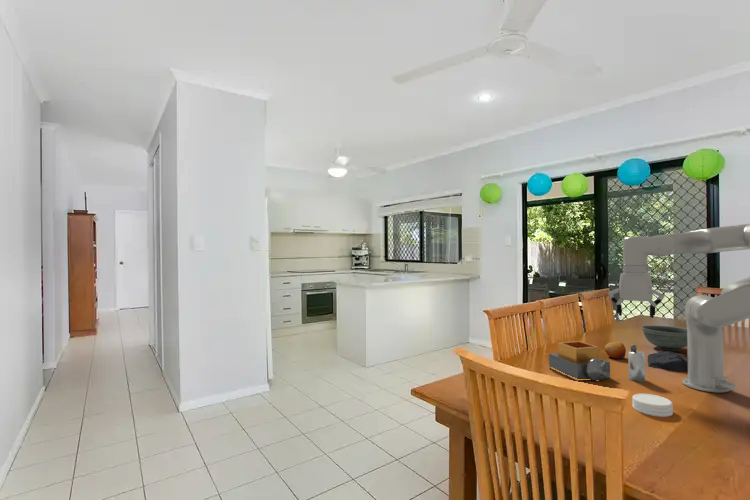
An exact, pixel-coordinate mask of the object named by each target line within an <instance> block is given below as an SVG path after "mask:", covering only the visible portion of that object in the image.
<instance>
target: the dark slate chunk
mask: <svg viewBox="0 0 750 500" xmlns="http://www.w3.org/2000/svg"><path fill="white" fill-rule="evenodd" d="M647 366H648V367H650V368H653V369H658V370H666V371H673V372H681V373H682V372H683V373H688V358H686V357H685V356H684V355H683V354H681V353H677V352H674V351H668V350H665V351H661V352H653V353H650V354H648V355H647Z"/></svg>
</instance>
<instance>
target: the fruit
mask: <svg viewBox="0 0 750 500" xmlns="http://www.w3.org/2000/svg"><path fill="white" fill-rule="evenodd" d="M604 352H605V353H606V355H607V357H609V356H610V357H609V358H613V359H615V360H620V359H625V357H626V346H625V345H624V344H623V343H622V342H620V341H612V342H608V343H606V344H605V346H604Z"/></svg>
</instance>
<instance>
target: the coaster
mask: <svg viewBox="0 0 750 500" xmlns="http://www.w3.org/2000/svg"><path fill="white" fill-rule="evenodd" d="M631 397H632V401H631V402H632V408H633V409H634V410H635V411H637V412H638V413H641V414H644V415H648V416H652V417H659V418H668V417H671V416H673V414H674V411H673V410H674V407H673V406H674V404H673V401H671V400H670V399H668V398H666V397H663V396H661V395H656V394H651V393H635V394H634V395H632V396H631Z"/></svg>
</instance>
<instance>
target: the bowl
mask: <svg viewBox="0 0 750 500" xmlns="http://www.w3.org/2000/svg"><path fill="white" fill-rule="evenodd" d="M641 329H642V332H643V335H644V337H645V338H646V340H647V342H649V343H651V344H652V345H654V346H656V349H658V350H661V351H662V350H663V351H671V352H679V351H681V350H682V349H684V348H687V327H686V328H685V327H681V326H669V325H642V326H641Z"/></svg>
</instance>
